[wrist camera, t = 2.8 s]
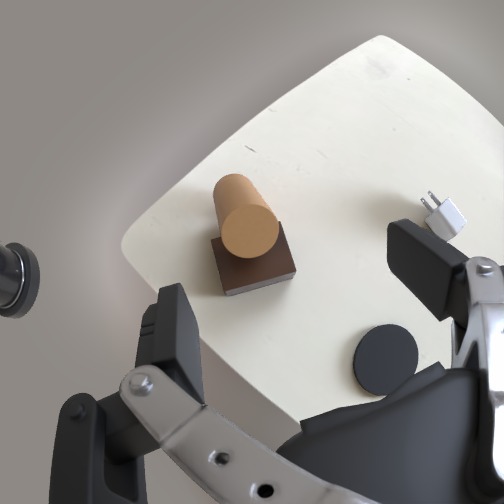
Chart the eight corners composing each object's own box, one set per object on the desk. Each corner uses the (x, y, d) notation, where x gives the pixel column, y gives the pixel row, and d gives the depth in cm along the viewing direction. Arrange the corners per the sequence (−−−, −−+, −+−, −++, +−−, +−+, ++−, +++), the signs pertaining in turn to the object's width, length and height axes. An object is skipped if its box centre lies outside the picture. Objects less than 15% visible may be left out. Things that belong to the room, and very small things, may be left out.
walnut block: (292, 278, 36) (296, 271, 32) (227, 296, 35) (224, 291, 31) (278, 232, 37) (280, 220, 33) (215, 249, 37) (210, 239, 33)
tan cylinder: (277, 269, 36) (286, 236, 24) (235, 281, 36) (224, 253, 24) (250, 183, 39) (247, 125, 28) (212, 193, 39) (195, 138, 27)
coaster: (377, 408, 31) (379, 409, 30) (339, 356, 33) (340, 357, 32) (427, 361, 32) (429, 361, 31) (392, 309, 34) (394, 309, 34)
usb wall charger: (440, 244, 36) (455, 235, 32) (411, 207, 38) (424, 195, 34) (453, 229, 37) (468, 220, 33) (425, 194, 39) (438, 181, 35)
